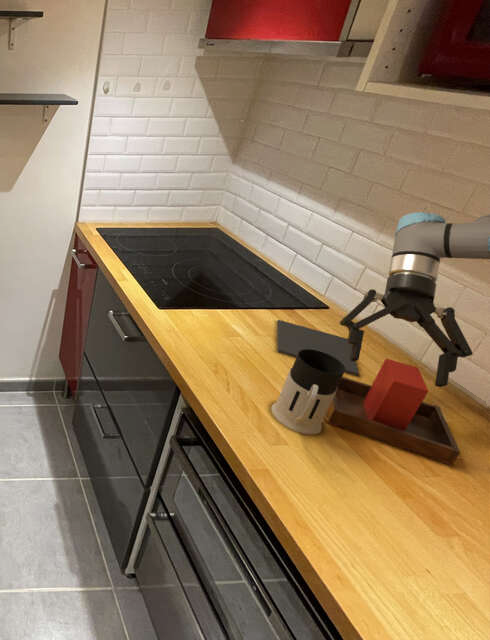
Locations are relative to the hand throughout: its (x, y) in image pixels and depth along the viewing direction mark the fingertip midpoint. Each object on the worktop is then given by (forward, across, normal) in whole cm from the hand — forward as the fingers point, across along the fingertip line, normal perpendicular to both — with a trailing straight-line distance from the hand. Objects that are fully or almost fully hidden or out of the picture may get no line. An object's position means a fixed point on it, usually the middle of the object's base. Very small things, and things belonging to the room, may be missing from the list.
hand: (395, 372), depth 92 cm
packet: (+9, 0, -4) cm, 10 cm away
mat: (-6, +10, -21) cm, 24 cm away
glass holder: (+18, +15, +4) cm, 24 cm away
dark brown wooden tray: (+10, 0, -5) cm, 11 cm away
